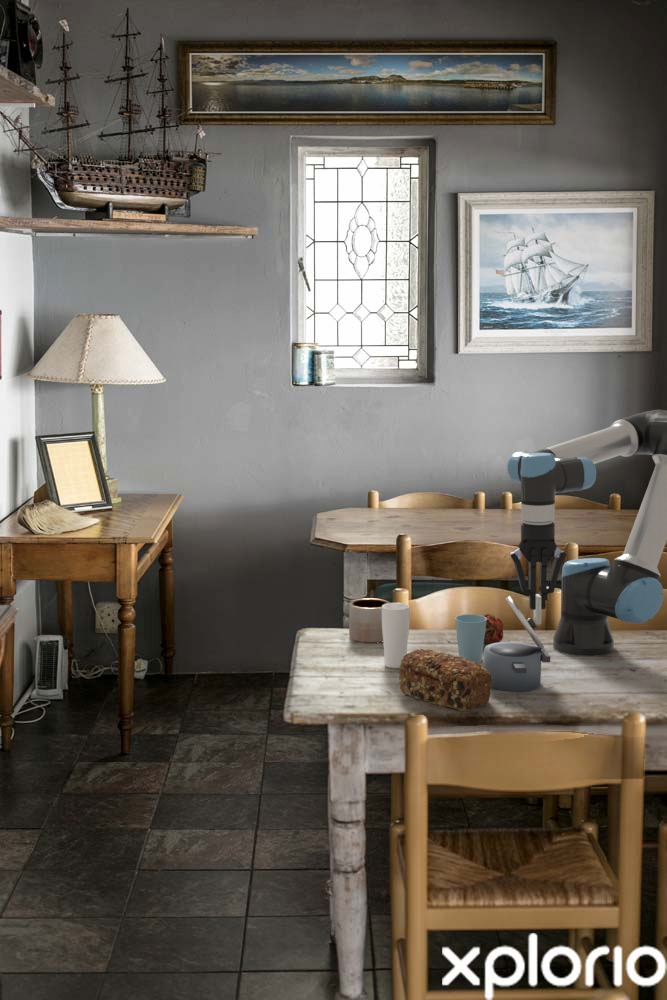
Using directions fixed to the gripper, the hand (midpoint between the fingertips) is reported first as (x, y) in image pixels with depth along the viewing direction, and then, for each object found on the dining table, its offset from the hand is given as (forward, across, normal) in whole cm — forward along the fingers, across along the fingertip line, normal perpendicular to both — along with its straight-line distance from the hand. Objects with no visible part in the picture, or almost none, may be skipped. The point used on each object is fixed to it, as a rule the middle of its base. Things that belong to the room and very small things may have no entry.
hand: (537, 622), depth 257 cm
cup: (+14, +13, -19) cm, 27 cm away
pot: (+14, +6, 0) cm, 15 cm away
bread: (+14, +22, +9) cm, 28 cm away
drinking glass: (+14, +32, -14) cm, 38 cm away
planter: (+14, +36, -38) cm, 55 cm away
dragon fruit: (+14, +7, -32) cm, 36 cm away
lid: (0, +3, 0) cm, 3 cm away
